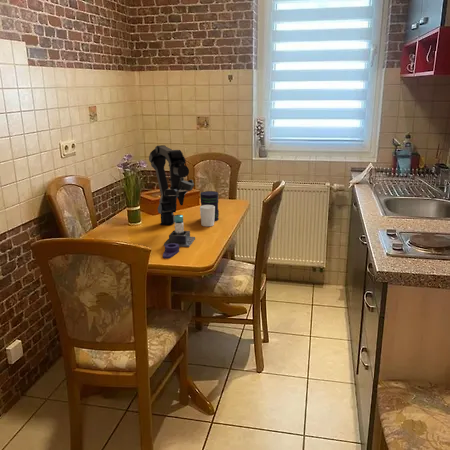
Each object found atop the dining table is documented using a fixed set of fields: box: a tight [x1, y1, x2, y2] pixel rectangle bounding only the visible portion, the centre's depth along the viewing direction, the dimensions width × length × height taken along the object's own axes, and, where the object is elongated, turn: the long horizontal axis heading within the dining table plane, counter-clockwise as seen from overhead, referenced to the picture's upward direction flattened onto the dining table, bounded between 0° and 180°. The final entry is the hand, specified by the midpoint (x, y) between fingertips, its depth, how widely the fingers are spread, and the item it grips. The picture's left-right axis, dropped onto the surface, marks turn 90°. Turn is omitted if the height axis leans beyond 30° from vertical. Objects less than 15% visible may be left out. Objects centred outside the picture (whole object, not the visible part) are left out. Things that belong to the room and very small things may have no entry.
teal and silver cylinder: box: [174, 214, 185, 235], centre depth 215 cm, size 4×4×12 cm
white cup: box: [199, 205, 215, 227], centre depth 243 cm, size 8×8×10 cm
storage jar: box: [200, 190, 220, 223], centre depth 252 cm, size 10×10×15 cm
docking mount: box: [163, 229, 196, 248], centre depth 217 cm, size 12×12×4 cm
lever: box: [162, 243, 180, 260], centre depth 202 cm, size 12×6×3 cm, turn 169°
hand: (178, 207), depth 229 cm, fingers open, 9 cm apart
